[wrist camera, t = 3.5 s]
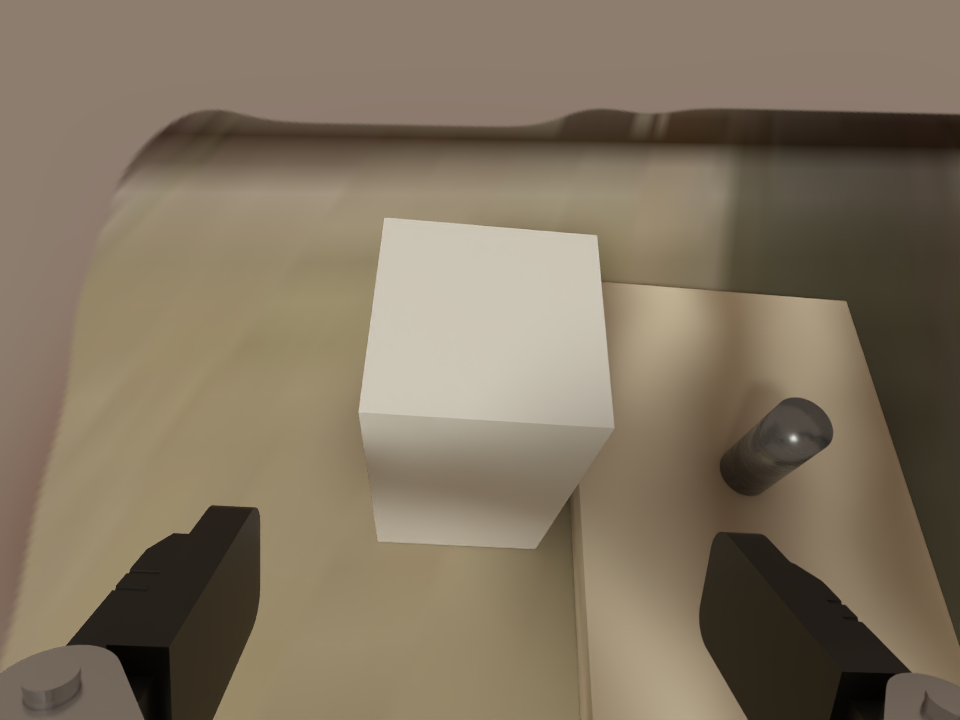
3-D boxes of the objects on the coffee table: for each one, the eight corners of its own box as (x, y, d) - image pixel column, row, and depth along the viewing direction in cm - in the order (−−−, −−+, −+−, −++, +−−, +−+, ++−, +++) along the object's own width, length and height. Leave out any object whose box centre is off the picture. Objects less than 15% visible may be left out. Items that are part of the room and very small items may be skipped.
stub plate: (826, 320, 29) (908, 238, 24) (953, 738, 20) (1115, 736, 16) (560, 300, 28) (590, 210, 23) (581, 726, 20) (635, 721, 15)
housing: (532, 408, 25) (597, 235, 16) (535, 549, 22) (614, 428, 14) (392, 399, 25) (384, 217, 16) (377, 541, 22) (358, 412, 13)
